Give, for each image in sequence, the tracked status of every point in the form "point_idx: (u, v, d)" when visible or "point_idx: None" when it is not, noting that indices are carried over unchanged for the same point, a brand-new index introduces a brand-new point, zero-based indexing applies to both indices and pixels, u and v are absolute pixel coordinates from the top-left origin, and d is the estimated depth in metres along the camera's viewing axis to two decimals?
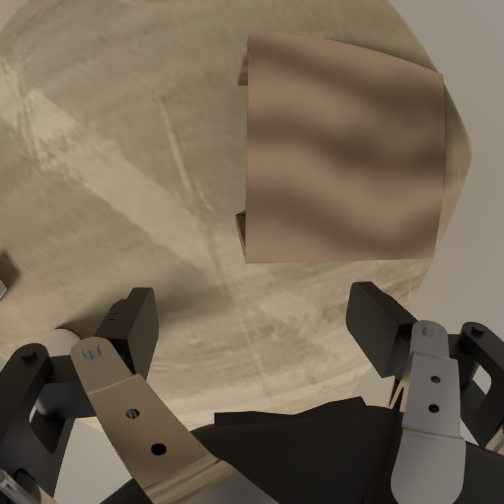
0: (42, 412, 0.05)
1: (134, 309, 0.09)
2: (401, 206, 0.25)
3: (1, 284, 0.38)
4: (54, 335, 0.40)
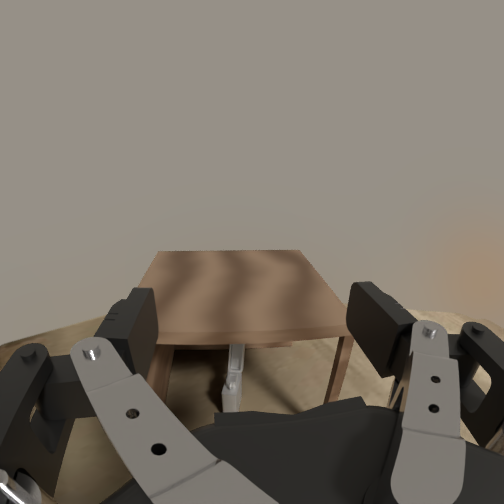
0: (42, 412, 0.05)
1: (134, 309, 0.09)
2: (269, 263, 0.36)
3: None
4: None
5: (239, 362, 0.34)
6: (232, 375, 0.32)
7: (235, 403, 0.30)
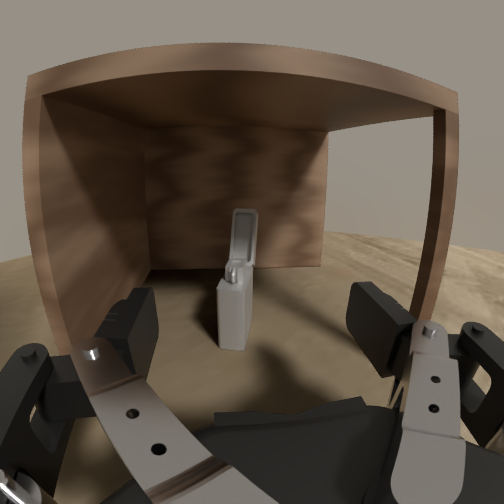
0: (42, 412, 0.05)
1: (134, 309, 0.09)
2: None
3: None
4: None
5: (248, 250, 0.21)
6: (237, 261, 0.19)
7: (243, 311, 0.17)
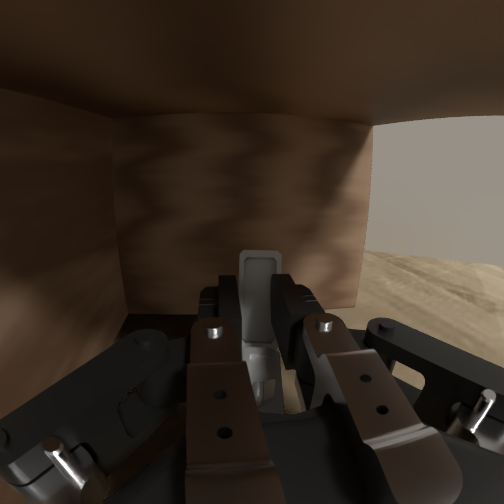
0: (141, 396, 0.07)
1: (232, 293, 0.10)
2: None
3: None
4: None
5: (268, 320, 0.12)
6: (258, 357, 0.10)
7: None
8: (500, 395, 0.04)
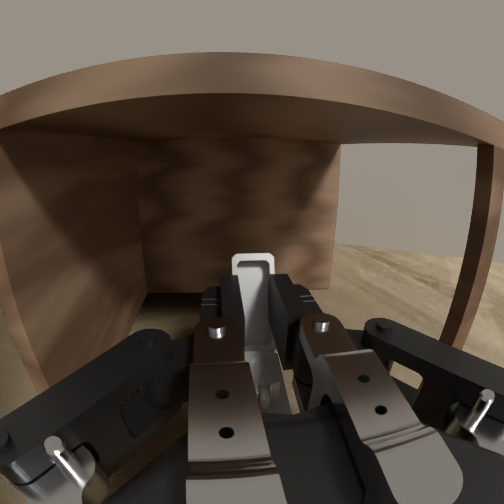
0: (144, 396, 0.07)
1: (235, 293, 0.10)
2: None
3: None
4: None
5: (263, 323, 0.12)
6: (259, 361, 0.10)
7: None
8: (499, 395, 0.04)
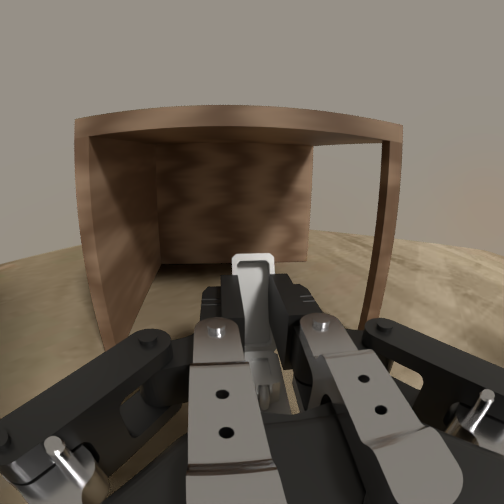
0: (144, 396, 0.07)
1: (235, 293, 0.10)
2: None
3: None
4: None
5: (263, 323, 0.12)
6: (259, 361, 0.10)
7: None
8: (499, 395, 0.04)
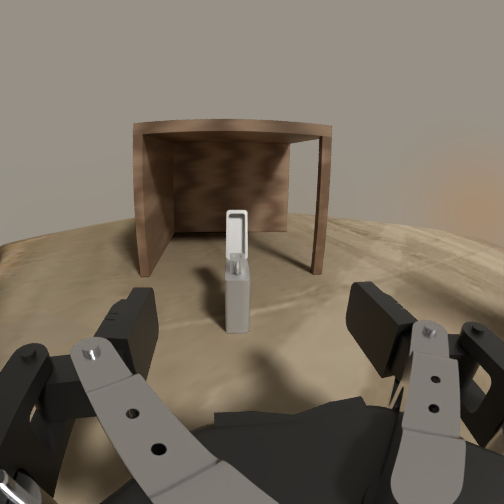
0: (42, 412, 0.05)
1: (134, 309, 0.09)
2: None
3: None
4: None
5: (241, 246, 0.24)
6: (237, 256, 0.22)
7: (247, 297, 0.20)
8: None
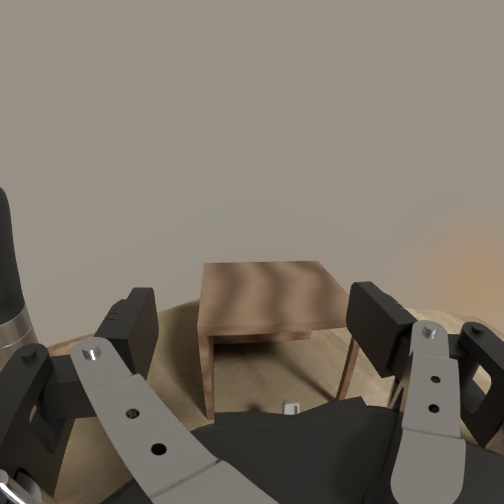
0: (42, 412, 0.05)
1: (134, 309, 0.09)
2: (297, 273, 0.46)
3: None
4: None
5: None
6: None
7: None
8: None
